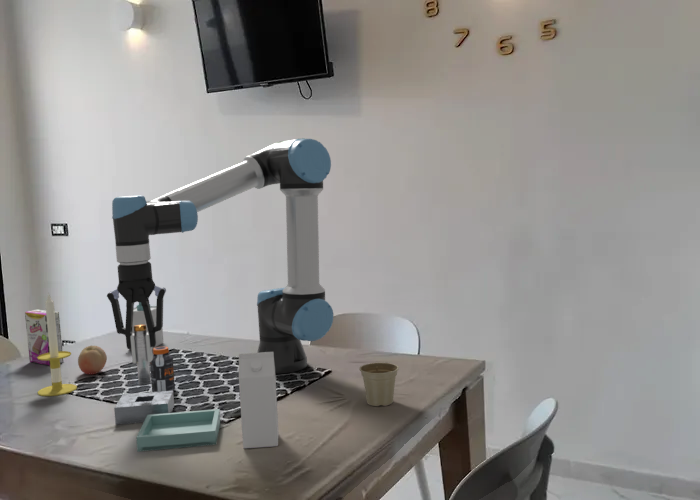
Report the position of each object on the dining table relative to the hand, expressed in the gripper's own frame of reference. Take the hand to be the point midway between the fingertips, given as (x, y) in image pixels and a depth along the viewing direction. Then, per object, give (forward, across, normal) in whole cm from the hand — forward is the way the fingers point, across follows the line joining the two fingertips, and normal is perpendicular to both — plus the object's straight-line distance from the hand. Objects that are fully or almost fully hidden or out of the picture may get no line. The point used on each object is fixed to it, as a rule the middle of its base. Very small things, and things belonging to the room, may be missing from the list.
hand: (142, 360), depth 166 cm
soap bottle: (+14, +12, -73) cm, 76 cm away
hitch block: (+13, 0, 0) cm, 13 cm away
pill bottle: (+14, -1, -20) cm, 24 cm away
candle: (+13, +28, -27) cm, 41 cm away
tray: (+13, -10, +16) cm, 23 cm away
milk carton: (+14, -27, +24) cm, 38 cm away
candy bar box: (+13, +41, -60) cm, 74 cm away
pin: (+6, 0, 0) cm, 6 cm away
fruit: (+13, +22, -42) cm, 50 cm away
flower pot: (+14, -55, +5) cm, 57 cm away
